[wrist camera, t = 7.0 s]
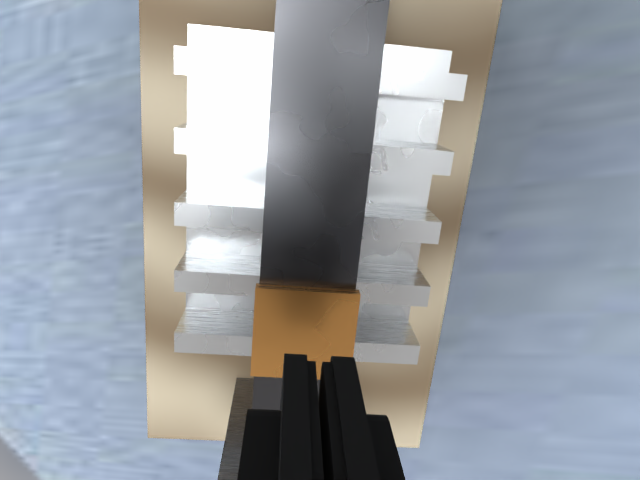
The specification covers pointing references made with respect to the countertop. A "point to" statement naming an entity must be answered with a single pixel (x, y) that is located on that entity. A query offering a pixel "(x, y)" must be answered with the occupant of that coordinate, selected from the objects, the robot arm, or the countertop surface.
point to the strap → (315, 183)
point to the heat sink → (249, 192)
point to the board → (170, 241)
